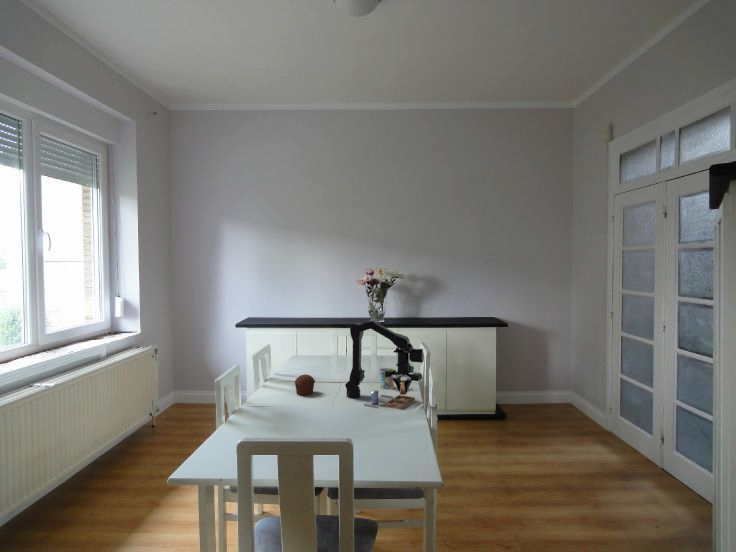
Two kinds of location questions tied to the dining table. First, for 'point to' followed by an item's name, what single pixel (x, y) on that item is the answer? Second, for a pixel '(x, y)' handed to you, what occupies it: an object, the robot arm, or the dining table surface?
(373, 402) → the cylinder
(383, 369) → the mug
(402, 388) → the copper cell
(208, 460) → the dining table surface
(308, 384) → the muffin
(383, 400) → the cradle
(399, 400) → the tray
